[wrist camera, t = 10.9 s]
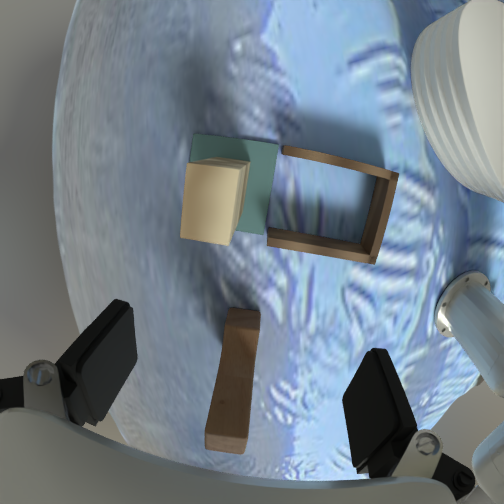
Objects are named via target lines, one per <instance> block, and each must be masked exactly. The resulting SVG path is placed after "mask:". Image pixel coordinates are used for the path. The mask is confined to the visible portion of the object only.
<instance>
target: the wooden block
mask: <svg viewBox="0 0 504 504" xmlns="http://www.w3.org/2000/svg"><path fill="white" fill-rule="evenodd" d="M260 318H261V313H260V312H259V311H254V310H247V309H239V308H229V310H228V314H227V318H226V322H225V327H224V337H223V345H222V352H221V358H220V364H219V369H218V374H217V378H216V382H215V387H214V391H213V396H212V400H211V405H210V409H209V414H208V418H207V423H206V427H205V448H206V449H208V450H213V451H219V452H226V453H233V454H243V453H244V452H245V448H246V444H247V440H248V433H249V422H250V411H251V400H252V388H253V377H254V367H255V358H256V351H257V344H258V338H259V332H260Z"/></svg>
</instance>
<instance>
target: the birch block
mask: <svg viewBox="0 0 504 504" xmlns="http://www.w3.org/2000/svg"><path fill="white" fill-rule="evenodd" d="M250 163H251V162H249V161H243V160H236V159H229V158H221V157H214V158H208V159H203V160H199V161H194V162H189V163H187V168H186V177H185V186H184V196H183V207H182V218H181V231H180V238H185V239H191V240H197V241H203V242H209V243H215V244H221V245H227V246H229V244H230V241H231V239H232V236H233V234H234V232H235V229H236V227H237V224H238V222H239V219H240V217H241V215H242V212H243V207H244V201H245V194H246V188H247V182H248V175H249V169H250Z"/></svg>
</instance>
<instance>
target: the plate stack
mask: <svg viewBox="0 0 504 504" xmlns="http://www.w3.org/2000/svg"><path fill="white" fill-rule="evenodd" d="M411 82H412V90H413V96H414V101H415V105H416V108H417V112H418V115H419V118H420V121H421V124H422V127H423V129H424V132H425V134H426V136H427V138H428V140H429V142H430V144H431V146H432V148H433V150H434V152H435V153H436V155H437V157H438V158H439V160H440V161H441V163H442V164H443V165H444V167H445V168H446V169H447V170H448V172H449V173H450V174H451V175H452V176H453V177H454V178H455V179H456V180H457V181H458V182H460V183H461V184H462V185H463V186H465V187H466V188H468V189H470V190H472V191H474V192H477V193H479V194H482V195H485V196H488V197H490V198H493V199H496V200H498V201H501V202H504V3H502V2H500V1H498V0H471V1H469V2H467V3H465V4H464V5H462V6H460V7H458V8H456V9H455V10H453V11H451V12H450V13H448V14H446V15H445V16H443V17H441V18H440V19H438V20H437V21H435V22H433V23H432V24H430V25H429V26H427V27H426V28H425V29H424V30H423V31H422V32H421V34H420V35H419V37H418V38H417V40H416V43H415V45H414V49H413V53H412V59H411Z"/></svg>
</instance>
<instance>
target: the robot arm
mask: <svg viewBox="0 0 504 504" xmlns="http://www.w3.org/2000/svg"><path fill="white" fill-rule="evenodd" d="M435 326H436V328H437V330H438V331H439V332H440V334H442V335H443V336H445V337H455V338H456V340H457V341H458V342H459V344H460V345H461V347H462V348H463V349H464V351H465V352H466V353H467V355H468V356H469V358H470V359H471V361H472V362H473V363H474V365H475V366H476V368H477V369H478V371H479V372H480V374H481V375H482V377H483V378H484V380H485V381H486V383H487V384H488V386H489V387H490V389H491V390H492V391H493V392H494V394H496V395H497V396H500V397H502V398H504V304H503V303H502V302H501V301H500V300H499V299H498V298H497V297H495V296H494V295H493V294H492V293H491V288H490V282H489V280H488V278H487V277H486V276H485V275H484V274H483V273H481V272H480V271H468V272H465V273H463V274H462V275H460V276H459V277H457V278H456V279H455V280H454V281H453V282H452V283H451V284H450V285H449V286H448V287H447V288H446V290H445V291H444V293H443V294H442V296H441V298H440V300H439V302H438V304H437V307H436V310H435ZM136 362H137V347H136V338H135V327H134V314H133V308H132V307H130V304H129V303H128V302H125V301H122V300H118V299H114V300H113V301H112V302H111V303H110V304H109V305H108V306H107V307H106V309H105V310H104V311H103V312H102V313H101V314H100V315H99V316H98V317H97V318H96V319H95V320H94V321H93V322H92V323H91V324H90V325H89V326H88V327H87V328H86V329H85V330H84V331H83V332H82V334H81V335H80V336H79V337H78V338H77V339H76V340H75V341H74V342H73V344H72V345H71V346H70V347H69V348H68V349H67V350H66V352H65V353H64V354H63V355H62V356H61V357H60V358H59V359H58V361H57V362H56V363H55V364H54V363H52V362H50V361H47V360H37V361H34V362H32V363H30V364H29V365H28V366H27V367H26V369H25V370H24V375H23V376H19V377H13V378H7V379H0V504H504V421H503V422H502V423H501V424H500V425H499V426H498V427H497V428H496V429H495V430H494V431H493V432H492V433H491V434H490V435H489V436H488V437H486V438H485V439H484V440H483V441H482V442H481V443H480V445H479V446H478V447H477V449H476V450H475V452H474V454H473V458H472V468H473V472H474V473H473V472H472V471H471V470H470V469H469V468H468V467H466V466H464V465H463V464H461V463H459V462H457V461H455V460H454V459H452V458H451V457H449V456H447V455H445V454H444V453H442V450H443V443H442V440H441V438H440V437H439V436H438V434H436V433H435V432H433V431H431V430H427V429H423V430H419V431H418V429H417V423H416V421H415V418H414V415H413V412H412V410H411V407H410V405H409V402H408V399H407V397H406V394H405V392H404V389H403V387H402V384H401V382H400V379H399V377H398V374H397V372H396V370H395V367H394V365H393V363H392V360H391V358H390V356H389V353H388V351H387V350H386V349H381V348H372V349H371V350H370V351H368V352H367V353H366V354H365V356H364V358H363V360H362V362H361V364H360V366H359V368H358V370H357V371H356V373H355V375H354V377H353V379H352V381H351V382H350V384H349V386H348V388H347V389H346V391H345V393H344V395H343V399H342V402H343V408H344V414H345V419H346V425H347V431H348V438H349V444H350V451H351V458H352V464H353V467H354V468H356V470H357V474H363V473H369V479H359V480H339V481H298V480H280V479H268V478H258V477H250V476H243V475H236V474H230V473H224V472H219V471H213V470H208V469H204V468H199V467H195V466H191V465H187V464H183V463H179V462H175V461H172V460H168V459H165V458H161V457H158V456H155V455H152V454H149V453H146V452H143V451H140V450H137V449H134V448H132V447H129V446H126V445H124V444H121V443H118V442H116V441H113V440H111V439H108V438H106V437H104V436H101V435H99V434H97V433H94V432H92V431H90V430H88V429H86V428H83V427H82V426H83V425H84V424H85V422H87V423H89V424H91V425H93V426H96V424H97V423H98V421H102V420H103V419H104V418H105V416H106V414H107V412H108V411H109V409H110V407H111V405H112V403H113V402H114V400H115V398H116V397H117V395H118V393H119V391H120V390H121V388H122V386H123V385H124V383H125V381H126V379H127V378H128V376H129V374H130V373H131V371H132V369H133V368H134V366H135V364H136ZM474 475H475V476H474ZM475 477H476V480H477V482H478V484H479V485H480V486H479V485H477V486H476V487H475V486H474V485H475ZM480 487H481V488H480Z"/></svg>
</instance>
